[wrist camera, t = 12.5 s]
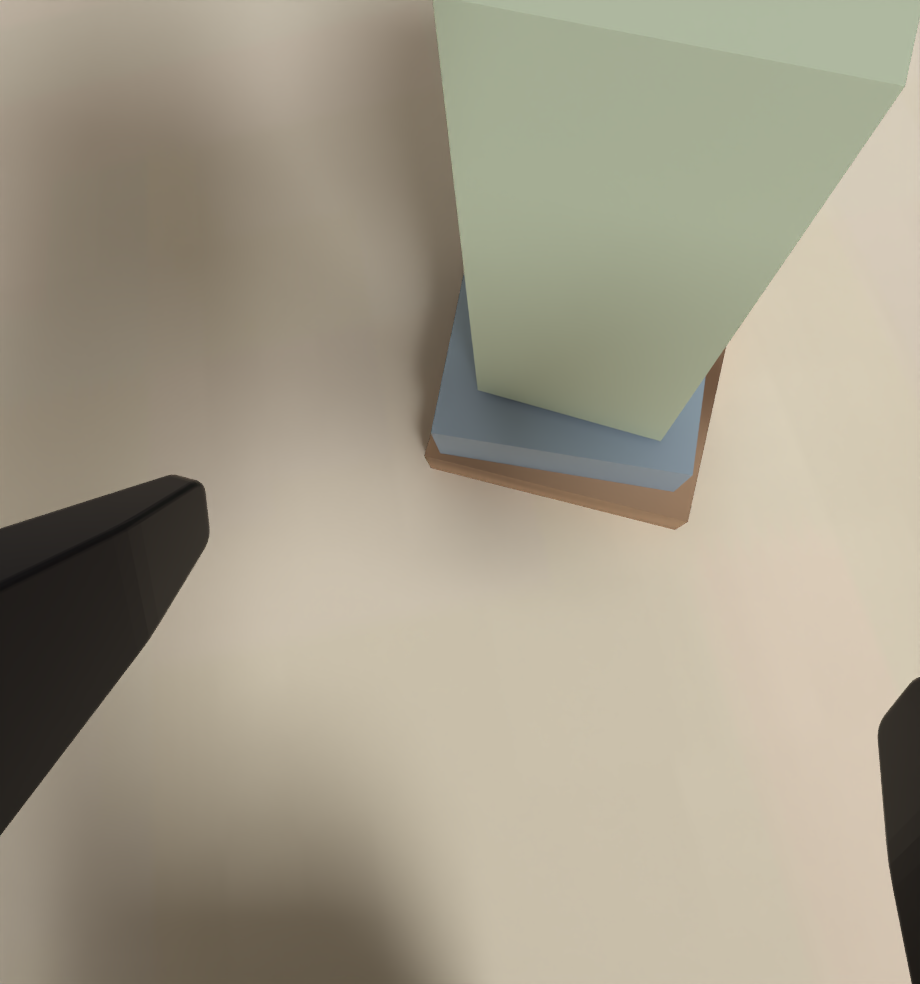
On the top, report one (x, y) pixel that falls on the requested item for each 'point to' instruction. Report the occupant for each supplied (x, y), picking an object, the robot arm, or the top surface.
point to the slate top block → (552, 429)
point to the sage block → (645, 178)
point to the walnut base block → (594, 492)
